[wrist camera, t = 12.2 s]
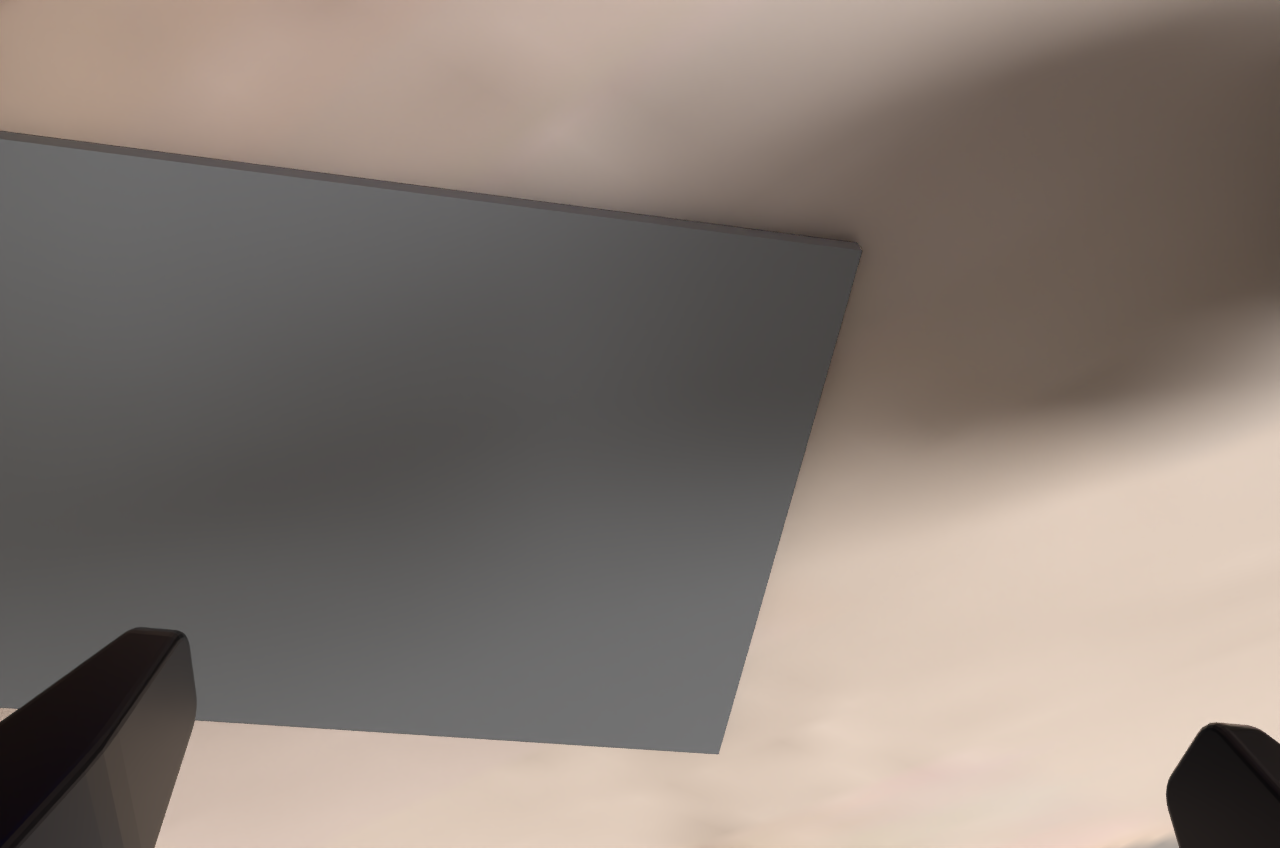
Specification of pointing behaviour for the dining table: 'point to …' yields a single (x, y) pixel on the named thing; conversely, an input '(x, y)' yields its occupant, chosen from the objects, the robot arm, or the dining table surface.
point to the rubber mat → (397, 444)
